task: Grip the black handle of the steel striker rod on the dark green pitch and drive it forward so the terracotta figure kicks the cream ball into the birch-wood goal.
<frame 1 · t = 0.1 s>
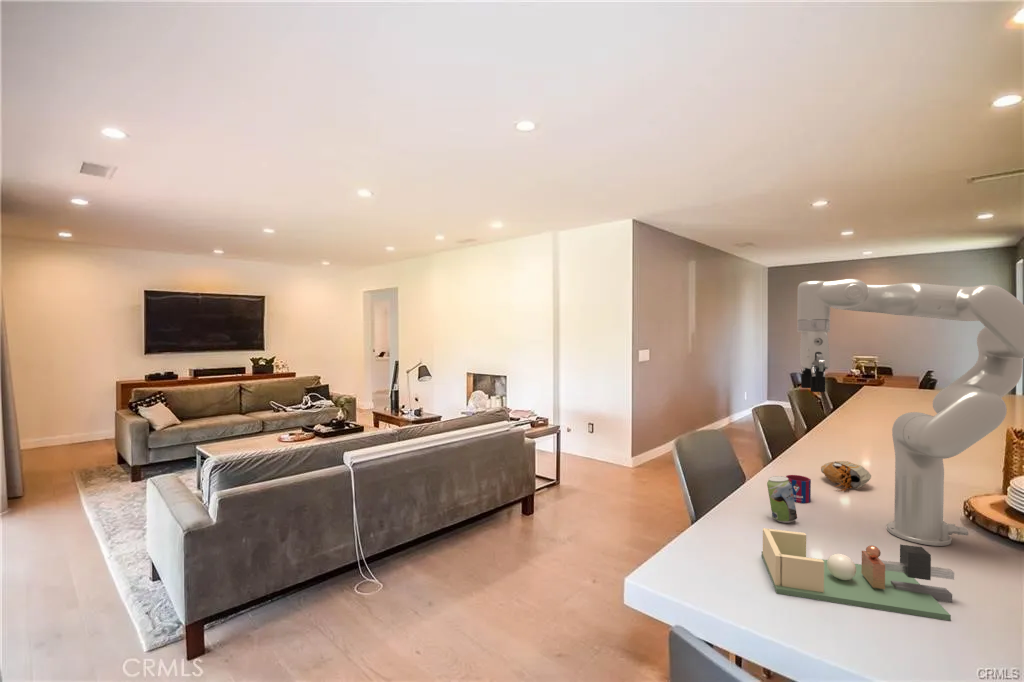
hand: (812, 389, 129), 37 cm above the table, fingers open, 9 cm apart
mug: (798, 498, 149), on the table
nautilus: (842, 487, 161), on the table
beverage can: (781, 521, 132), on the table
pitch: (844, 583, 98), on the table
ball: (841, 566, 98), point 3 cm above the table, touching pitch
striker: (908, 567, 95), point 5 cm above the table, slide at 0.0 cm
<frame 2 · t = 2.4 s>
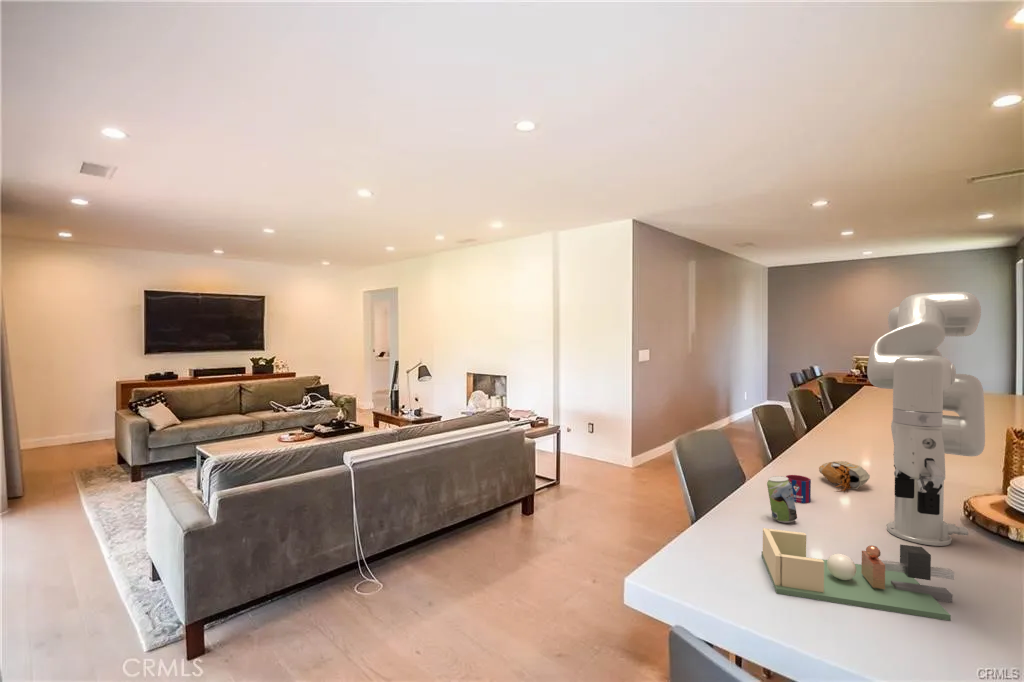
hand: (915, 505, 94), 18 cm above the table, fingers open, 9 cm apart
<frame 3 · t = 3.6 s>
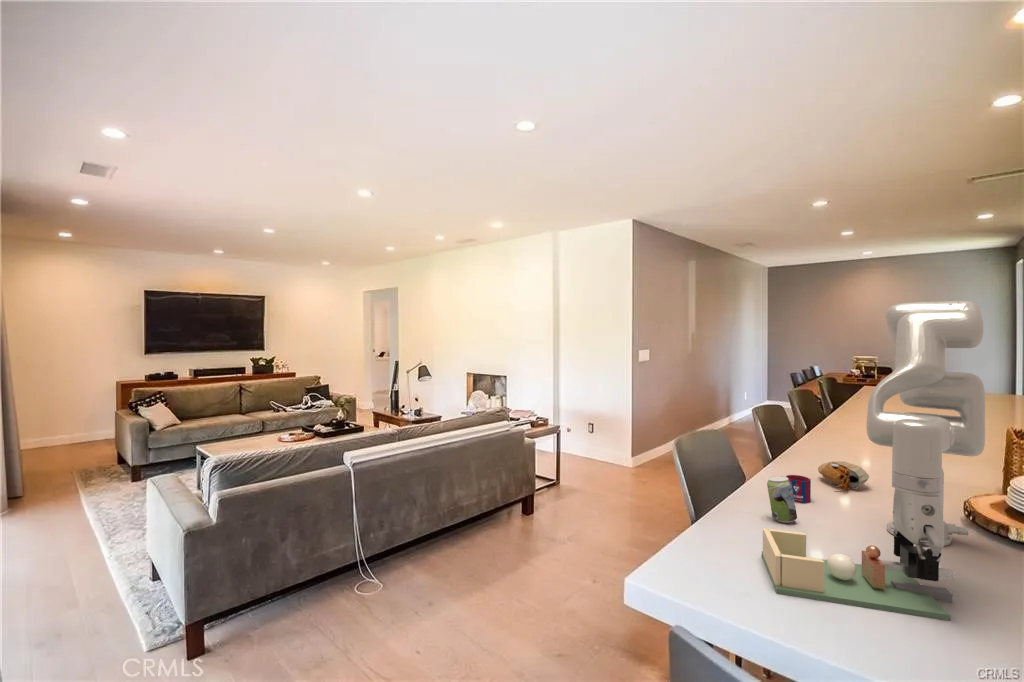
hand: (914, 567, 94), 5 cm above the table, fingers open, 9 cm apart
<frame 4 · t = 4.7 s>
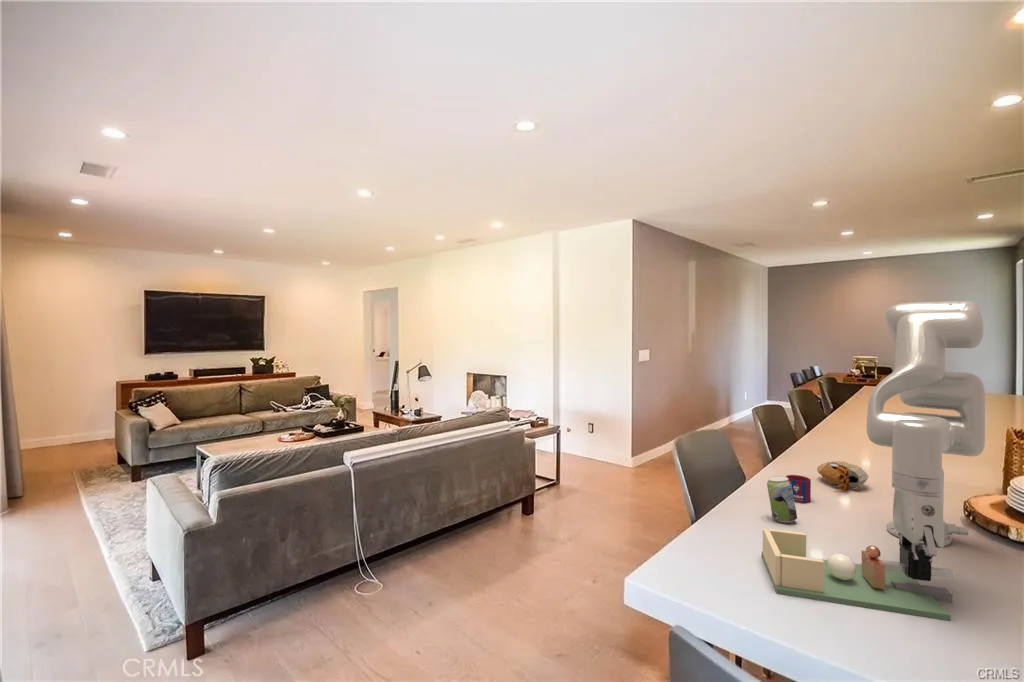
hand: (914, 573, 94), 4 cm above the table, fingers closed on striker, 3 cm apart
striker: (908, 567, 95), point 5 cm above the table, slide at 0.0 cm, touching gripper
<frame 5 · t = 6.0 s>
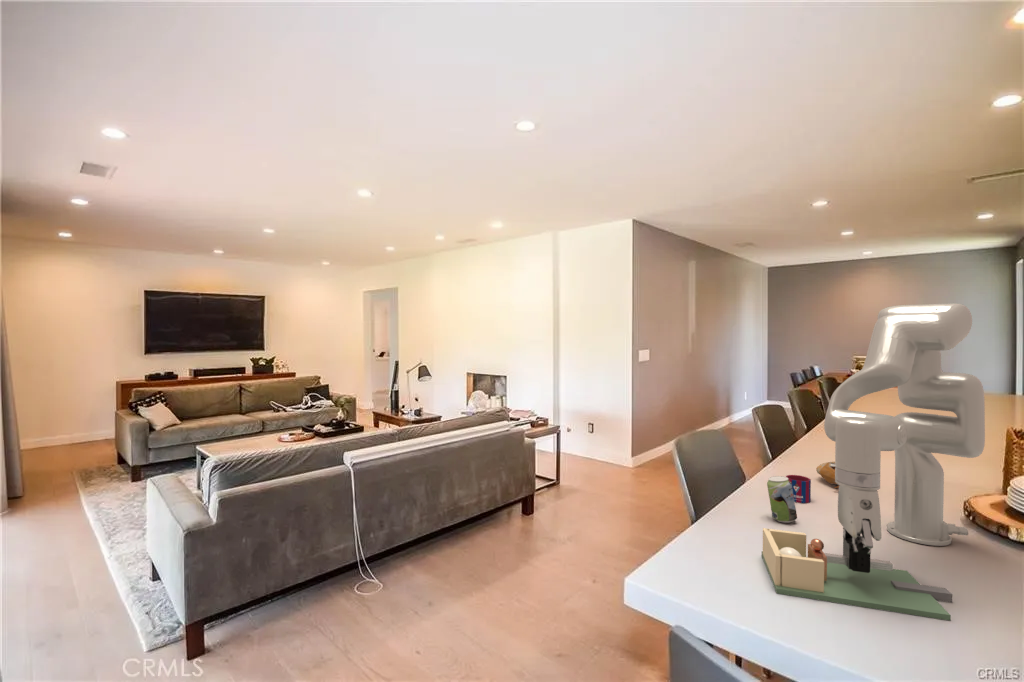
hand: (856, 565, 97), 4 cm above the table, fingers closed on striker, 3 cm apart
ball: (789, 559, 101), point 3 cm above the table, tilted 151°, touching pitch
striker: (849, 559, 98), point 5 cm above the table, slide at 9.9 cm, touching gripper
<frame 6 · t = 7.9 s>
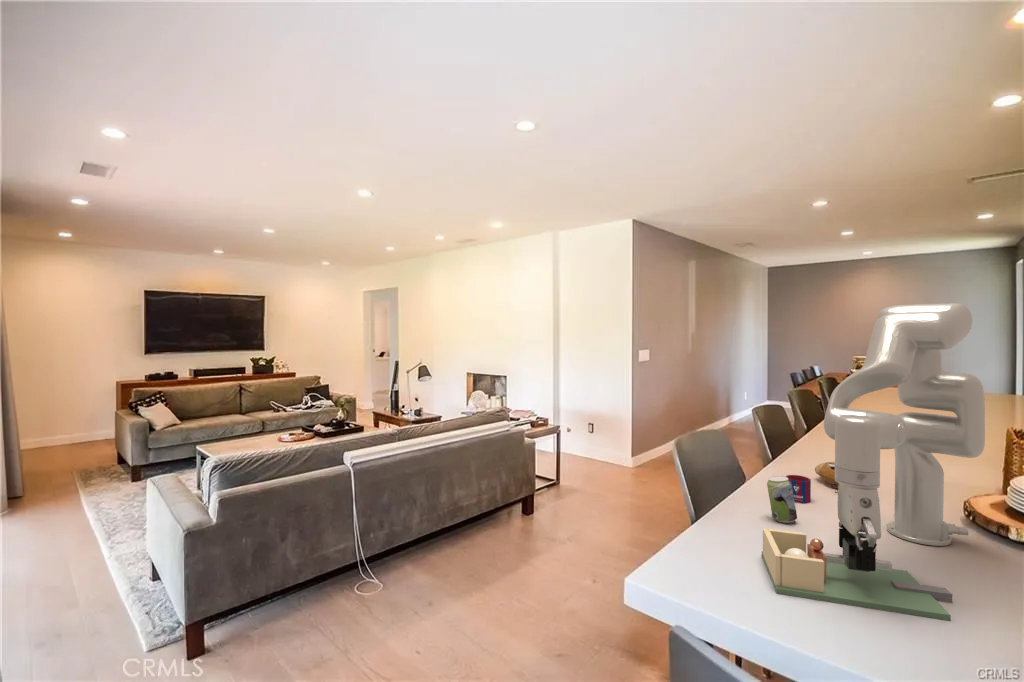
hand: (856, 558, 98), 6 cm above the table, fingers open, 9 cm apart
ball: (796, 560, 101), point 3 cm above the table, tilted 178°, touching pitch
striker: (849, 559, 98), point 5 cm above the table, slide at 10.0 cm
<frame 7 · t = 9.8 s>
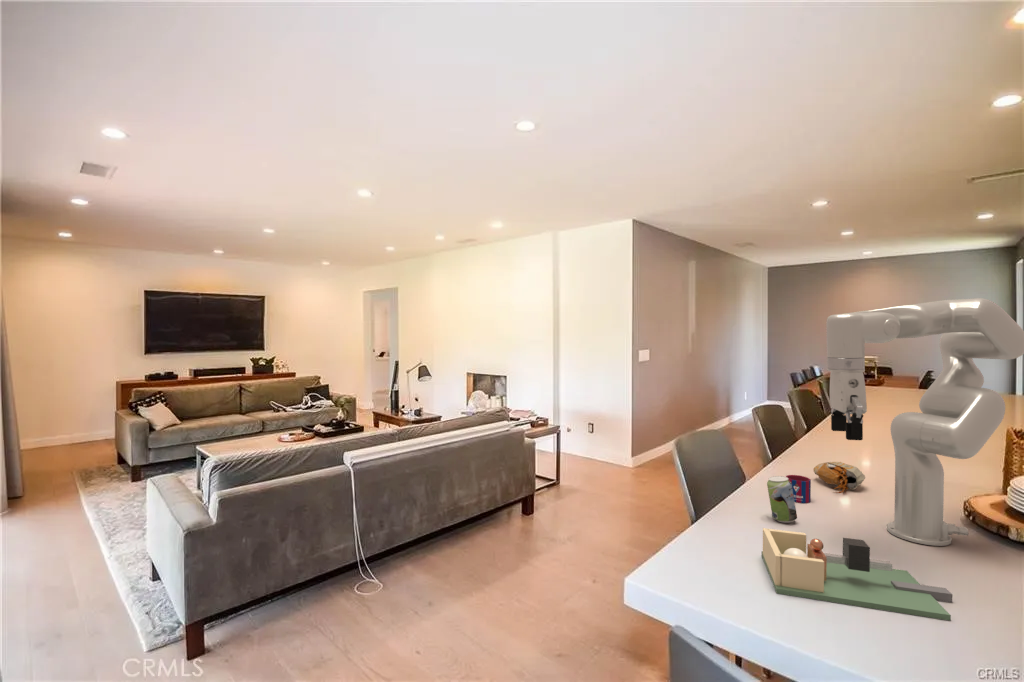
hand: (846, 435, 115), 27 cm above the table, fingers open, 9 cm apart
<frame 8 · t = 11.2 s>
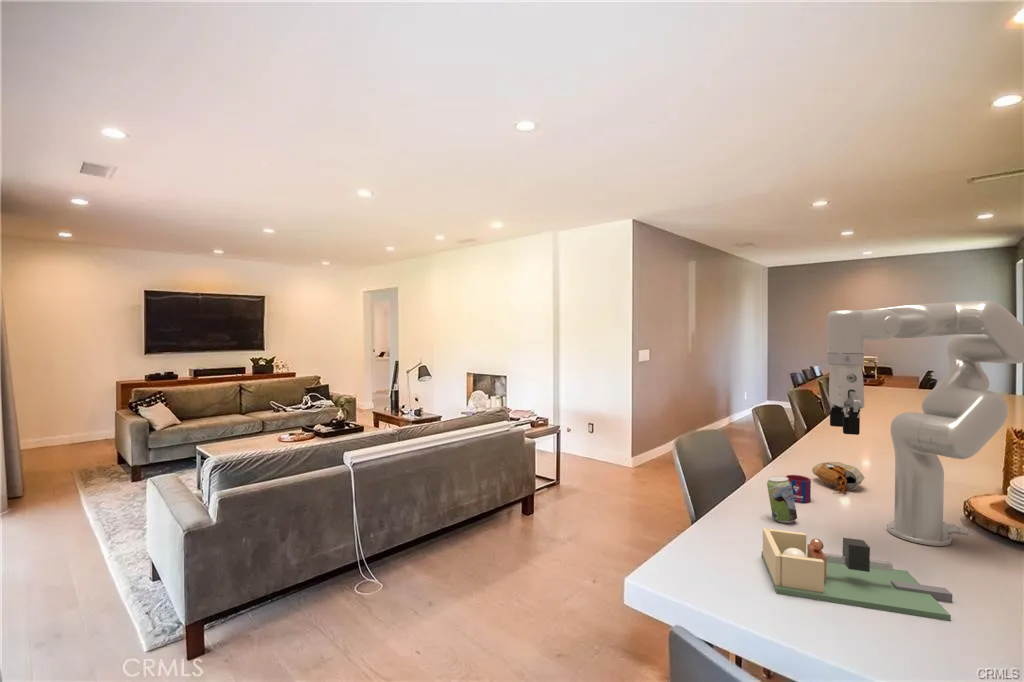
hand: (844, 430, 116), 28 cm above the table, fingers open, 9 cm apart
at the end: ball inside the target area (0.2 cm from its centre), point 3.5 cm above the table; striker slide at 10.0 cm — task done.
